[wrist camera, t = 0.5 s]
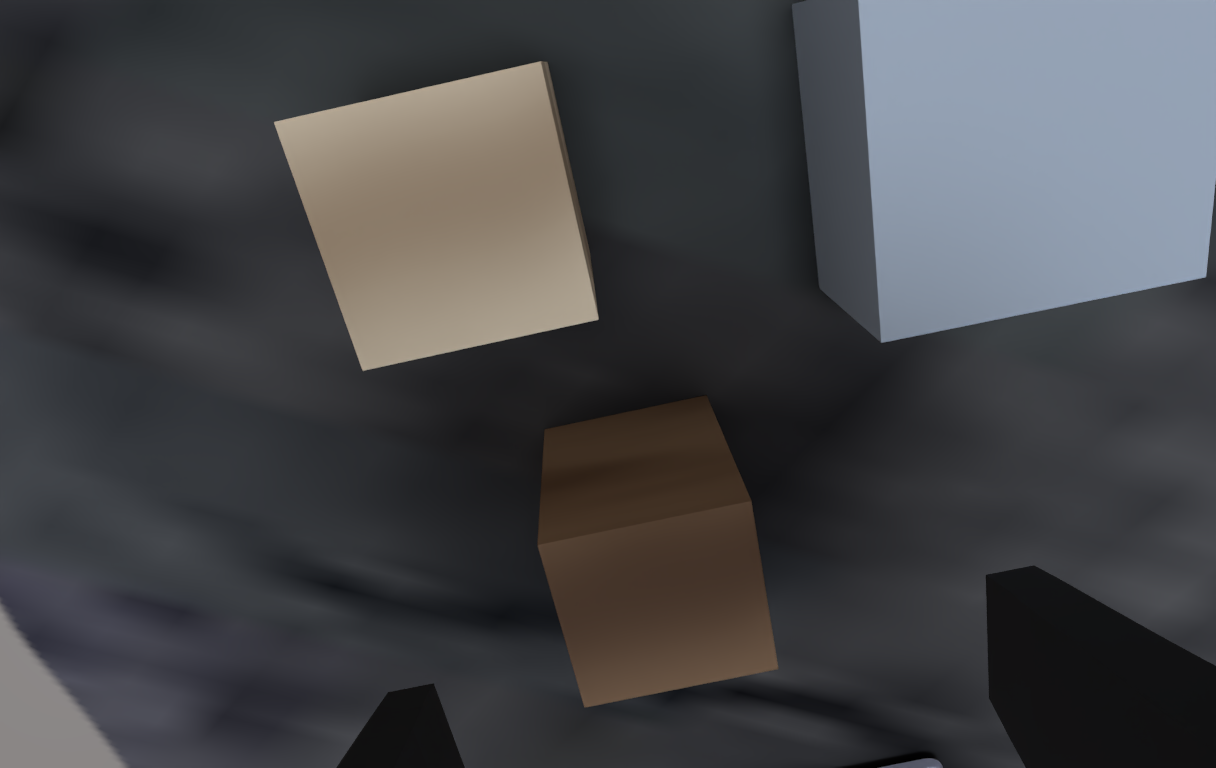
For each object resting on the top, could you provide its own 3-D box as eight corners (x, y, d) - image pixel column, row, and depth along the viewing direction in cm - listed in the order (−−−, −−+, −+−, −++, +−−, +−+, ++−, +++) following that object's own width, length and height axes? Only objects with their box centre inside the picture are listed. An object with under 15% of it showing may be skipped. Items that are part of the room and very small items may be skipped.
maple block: (589, 252, 17) (598, 319, 13) (416, 290, 18) (362, 371, 13) (547, 62, 16) (540, 61, 11) (357, 105, 16) (274, 121, 11)
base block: (1074, 233, 18) (1205, 276, 14) (817, 286, 18) (881, 342, 14) (1083, -59, 16) (1242, -96, 12) (789, 5, 16) (856, -14, 12)
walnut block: (730, 532, 20) (778, 669, 16) (580, 563, 21) (584, 707, 16) (706, 394, 19) (751, 500, 14) (544, 428, 19) (537, 545, 14)
